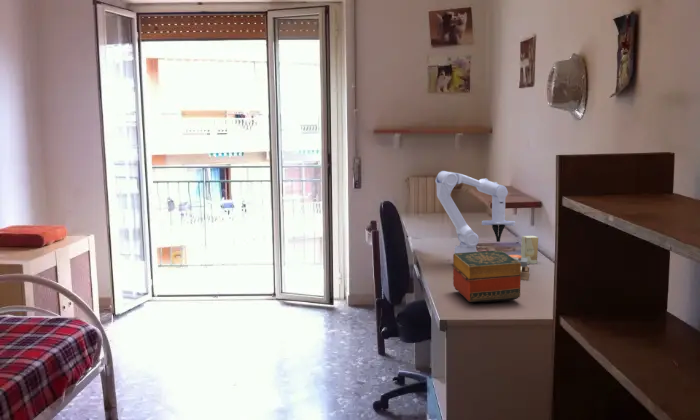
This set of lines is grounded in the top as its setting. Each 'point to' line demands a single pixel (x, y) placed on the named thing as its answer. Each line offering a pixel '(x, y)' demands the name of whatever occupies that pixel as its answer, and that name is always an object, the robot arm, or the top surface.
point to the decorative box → (486, 276)
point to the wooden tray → (525, 273)
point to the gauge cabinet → (523, 262)
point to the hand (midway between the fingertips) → (498, 241)
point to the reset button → (516, 256)
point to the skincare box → (529, 248)
